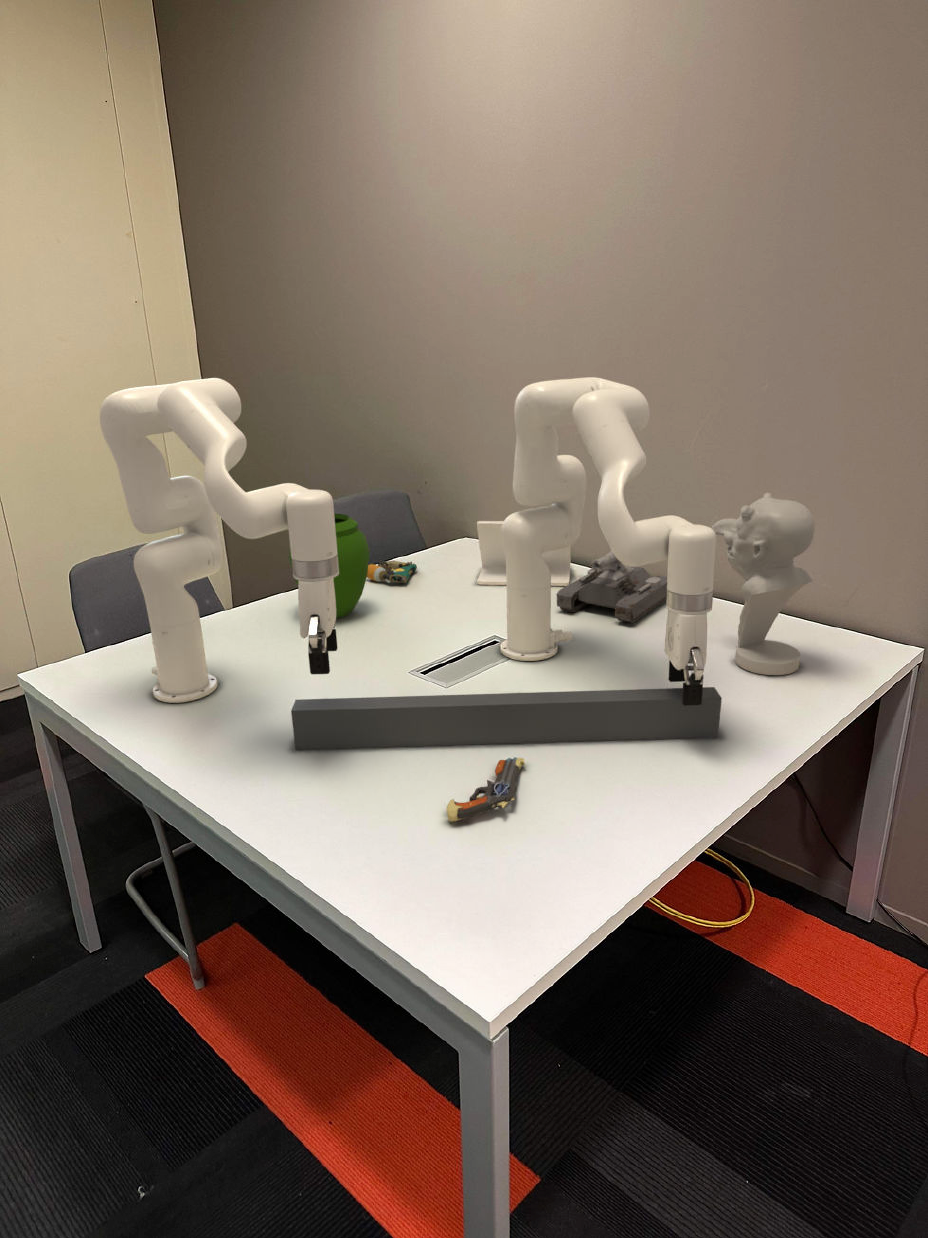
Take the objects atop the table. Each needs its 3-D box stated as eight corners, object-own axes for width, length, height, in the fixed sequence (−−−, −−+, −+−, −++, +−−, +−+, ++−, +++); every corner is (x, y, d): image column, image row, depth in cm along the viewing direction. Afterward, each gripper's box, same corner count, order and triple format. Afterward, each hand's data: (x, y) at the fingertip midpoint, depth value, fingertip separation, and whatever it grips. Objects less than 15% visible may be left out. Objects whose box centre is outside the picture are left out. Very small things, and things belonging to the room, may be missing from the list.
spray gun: (385, 567, 251) (431, 574, 246) (355, 581, 237) (403, 588, 231) (385, 553, 250) (431, 560, 244) (355, 566, 236) (403, 573, 230)
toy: (603, 584, 229) (605, 530, 224) (673, 597, 218) (677, 540, 213) (555, 612, 210) (556, 553, 205) (630, 627, 199) (633, 566, 194)
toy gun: (442, 810, 126) (509, 808, 124) (466, 754, 144) (524, 752, 142) (445, 827, 127) (511, 825, 125) (468, 769, 145) (526, 767, 142)
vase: (389, 608, 216) (383, 514, 208) (339, 633, 201) (330, 533, 192) (330, 596, 226) (322, 506, 218) (278, 619, 211) (267, 523, 202)
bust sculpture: (735, 630, 196) (748, 478, 183) (821, 666, 176) (842, 499, 163) (681, 644, 189) (691, 488, 176) (764, 683, 169) (782, 510, 157)
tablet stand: (569, 585, 229) (570, 524, 223) (476, 584, 232) (475, 523, 226) (570, 566, 246) (571, 508, 240) (484, 564, 249) (483, 507, 243)
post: (711, 725, 154) (714, 686, 151) (718, 737, 150) (721, 697, 147) (299, 737, 154) (295, 699, 151) (295, 750, 150) (290, 710, 147)
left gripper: (301, 552, 148) (310, 643, 154) (282, 583, 132) (293, 683, 138) (344, 550, 148) (352, 642, 154) (331, 582, 132) (340, 682, 138)
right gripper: (655, 584, 151) (652, 673, 157) (679, 617, 135) (674, 715, 140) (697, 583, 151) (692, 672, 157) (727, 615, 135) (720, 713, 140)
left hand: (324, 661), depth 146 cm, fingers open, 9 cm apart
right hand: (684, 692), depth 149 cm, fingers open, 9 cm apart
